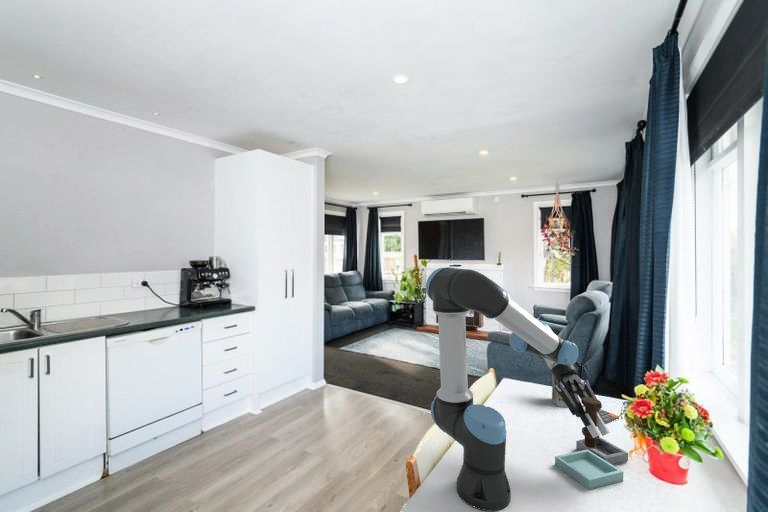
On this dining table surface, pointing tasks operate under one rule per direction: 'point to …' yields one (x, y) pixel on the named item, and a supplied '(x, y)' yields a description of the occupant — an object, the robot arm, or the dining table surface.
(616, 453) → the square frame
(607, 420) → the calculator
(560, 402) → the coffee box
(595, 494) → the dining table surface
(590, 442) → the bolt
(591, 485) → the tray
